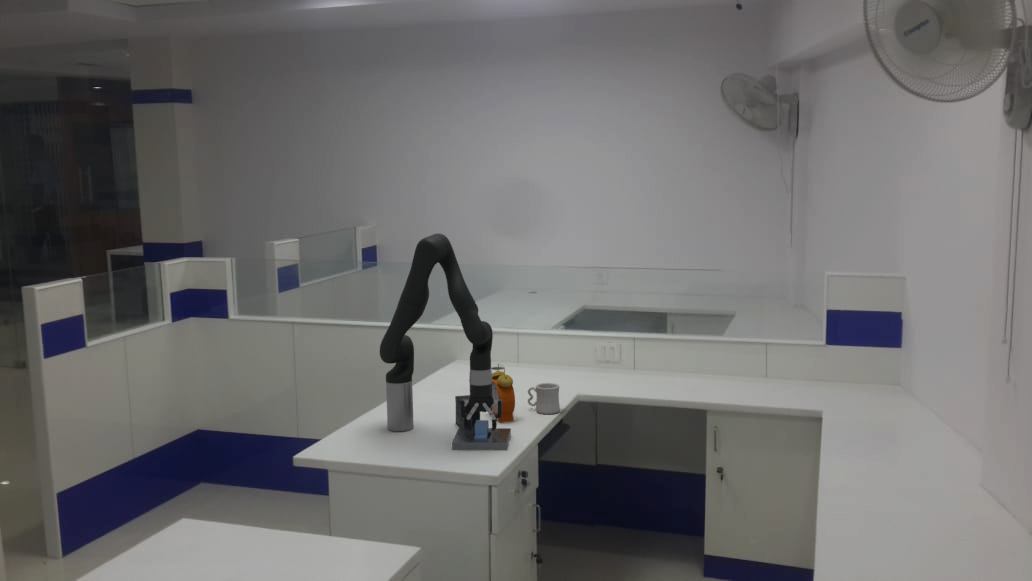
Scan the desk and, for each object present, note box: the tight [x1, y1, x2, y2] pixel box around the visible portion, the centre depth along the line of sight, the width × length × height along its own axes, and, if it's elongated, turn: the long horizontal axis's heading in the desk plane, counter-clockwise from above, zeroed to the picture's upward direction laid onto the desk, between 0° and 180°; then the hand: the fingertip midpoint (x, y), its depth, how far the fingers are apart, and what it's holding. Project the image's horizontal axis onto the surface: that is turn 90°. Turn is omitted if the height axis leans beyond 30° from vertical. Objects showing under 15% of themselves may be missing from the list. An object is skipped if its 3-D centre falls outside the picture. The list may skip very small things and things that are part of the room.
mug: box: [527, 382, 561, 415], centre depth 326 cm, size 12×9×10 cm
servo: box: [474, 419, 489, 439], centre depth 289 cm, size 9×4×7 cm, turn 176°
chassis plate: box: [451, 427, 512, 451], centre depth 289 cm, size 16×18×2 cm
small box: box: [455, 394, 481, 428], centre depth 307 cm, size 11×6×10 cm, turn 22°
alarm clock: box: [491, 363, 516, 424], centre depth 316 cm, size 13×6×20 cm, turn 21°
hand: (481, 429), depth 289 cm, fingers open, 7 cm apart
